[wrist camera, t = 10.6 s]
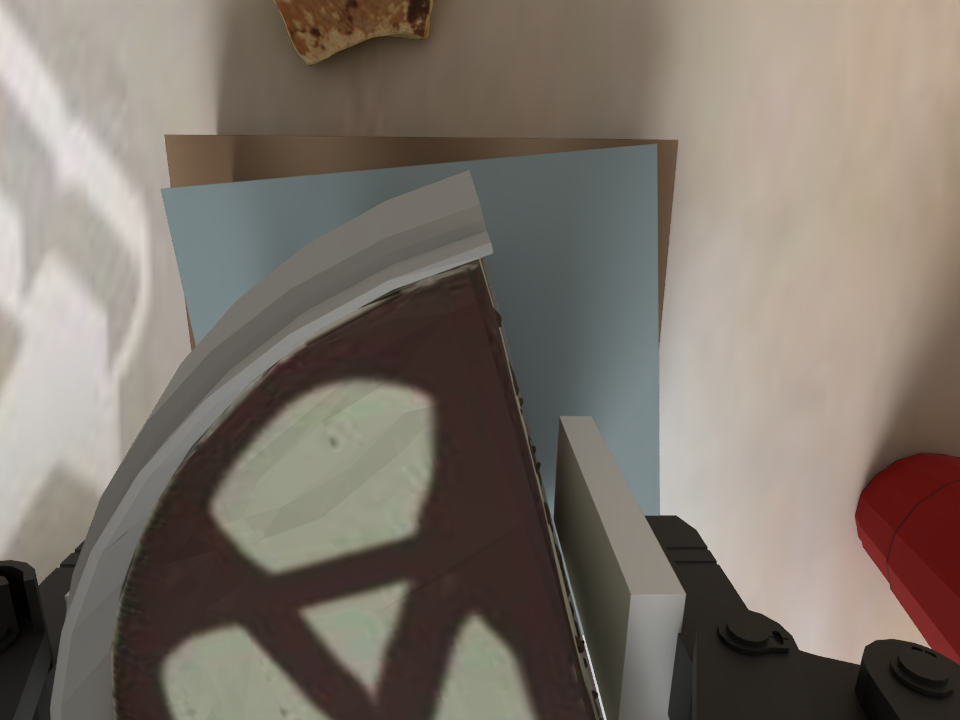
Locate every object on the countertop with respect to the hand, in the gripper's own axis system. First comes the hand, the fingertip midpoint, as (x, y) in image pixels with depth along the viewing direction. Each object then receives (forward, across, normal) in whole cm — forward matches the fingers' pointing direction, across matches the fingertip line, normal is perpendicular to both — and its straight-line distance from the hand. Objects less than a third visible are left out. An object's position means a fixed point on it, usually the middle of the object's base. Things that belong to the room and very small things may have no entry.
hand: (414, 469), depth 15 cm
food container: (+1, 0, 0) cm, 1 cm away
